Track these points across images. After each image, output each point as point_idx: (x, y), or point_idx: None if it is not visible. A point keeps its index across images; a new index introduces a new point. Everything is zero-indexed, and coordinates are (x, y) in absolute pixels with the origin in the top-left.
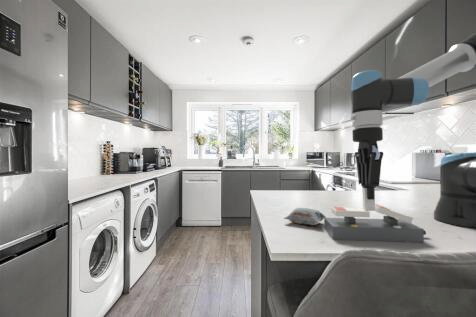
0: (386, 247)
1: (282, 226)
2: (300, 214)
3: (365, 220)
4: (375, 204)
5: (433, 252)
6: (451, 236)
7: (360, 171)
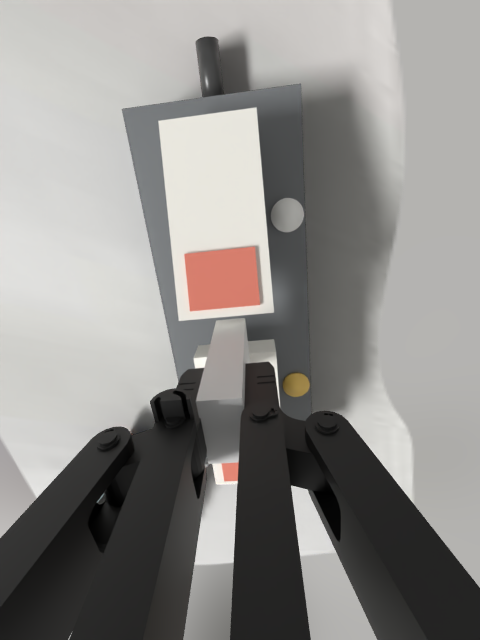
0: (362, 281)
1: (208, 528)
2: None
3: (197, 319)
4: (193, 310)
5: (402, 123)
6: None
7: (71, 610)
